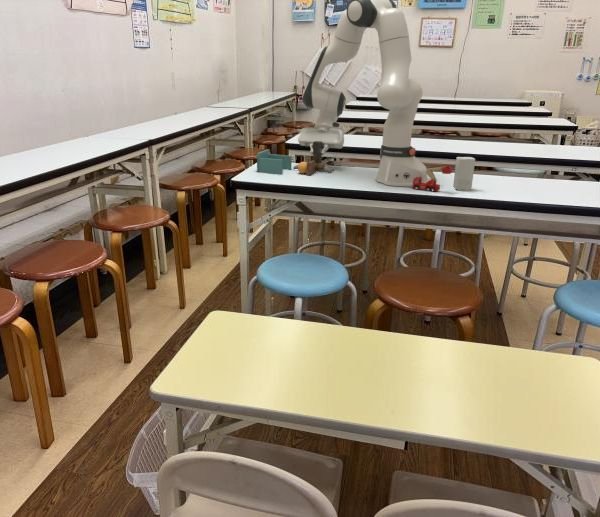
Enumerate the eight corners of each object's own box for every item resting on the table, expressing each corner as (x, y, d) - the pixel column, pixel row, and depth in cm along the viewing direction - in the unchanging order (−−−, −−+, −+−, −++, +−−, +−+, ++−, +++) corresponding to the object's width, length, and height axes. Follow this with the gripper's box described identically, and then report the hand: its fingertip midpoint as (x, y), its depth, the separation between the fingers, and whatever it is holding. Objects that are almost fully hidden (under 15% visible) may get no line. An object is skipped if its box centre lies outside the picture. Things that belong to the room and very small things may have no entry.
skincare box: (467, 187, 196) (472, 156, 192) (471, 190, 192) (476, 158, 187) (452, 187, 196) (456, 156, 191) (455, 190, 192) (459, 158, 187)
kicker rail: (333, 171, 222) (333, 168, 221) (330, 173, 217) (330, 170, 217) (297, 167, 227) (297, 165, 227) (293, 169, 223) (293, 167, 223)
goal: (291, 169, 223) (291, 151, 220) (281, 174, 214) (281, 155, 211) (267, 167, 227) (267, 149, 224) (257, 172, 218) (256, 153, 215)
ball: (312, 171, 217) (309, 159, 216) (308, 173, 213) (305, 161, 211) (301, 173, 219) (299, 162, 218) (297, 175, 215) (294, 164, 213)
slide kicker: (324, 169, 223) (325, 141, 218) (315, 175, 211) (315, 146, 207) (312, 168, 225) (312, 140, 220) (301, 174, 213) (302, 145, 209)
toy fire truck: (413, 187, 196) (416, 162, 192) (449, 191, 190) (452, 166, 186) (411, 189, 193) (413, 164, 189) (447, 193, 187) (450, 167, 183)
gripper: (301, 122, 224) (292, 147, 219) (345, 124, 217) (337, 151, 213) (304, 131, 230) (296, 156, 225) (347, 134, 223) (340, 159, 218)
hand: (316, 153), depth 219 cm, fingers closed on slide kicker, 3 cm apart
